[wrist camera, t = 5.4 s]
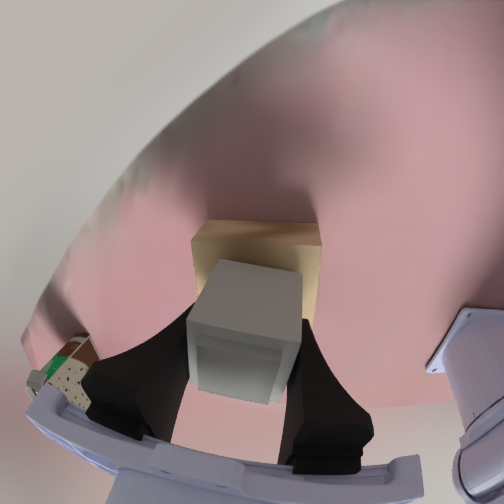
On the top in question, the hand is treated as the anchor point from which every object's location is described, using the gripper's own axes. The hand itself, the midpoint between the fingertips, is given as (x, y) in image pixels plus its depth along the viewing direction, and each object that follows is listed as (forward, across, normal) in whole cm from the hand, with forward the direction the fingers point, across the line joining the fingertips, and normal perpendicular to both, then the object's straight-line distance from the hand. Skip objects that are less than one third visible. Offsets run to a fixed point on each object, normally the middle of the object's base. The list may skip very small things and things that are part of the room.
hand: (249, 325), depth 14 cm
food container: (+6, +21, +17) cm, 28 cm away
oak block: (+6, 0, 0) cm, 6 cm away
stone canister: (+2, 0, 0) cm, 2 cm away
